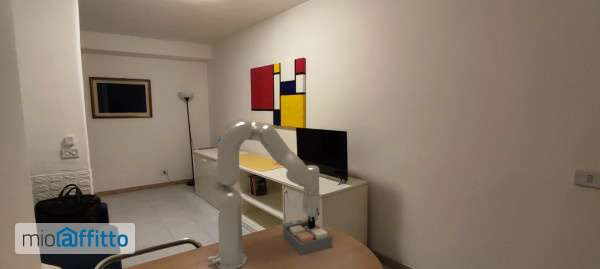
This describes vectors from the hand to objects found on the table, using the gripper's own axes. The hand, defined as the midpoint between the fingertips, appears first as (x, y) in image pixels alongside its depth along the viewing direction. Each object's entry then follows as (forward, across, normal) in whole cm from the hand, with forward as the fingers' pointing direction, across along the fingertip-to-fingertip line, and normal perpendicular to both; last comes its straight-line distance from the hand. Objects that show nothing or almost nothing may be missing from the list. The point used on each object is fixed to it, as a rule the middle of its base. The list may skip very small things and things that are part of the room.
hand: (311, 227), depth 139 cm
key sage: (+2, 0, 0) cm, 2 cm away
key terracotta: (+1, +7, -8) cm, 11 cm away
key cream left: (+1, 0, -8) cm, 8 cm away
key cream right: (+1, +8, 0) cm, 8 cm away
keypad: (+5, +2, -4) cm, 7 cm away
